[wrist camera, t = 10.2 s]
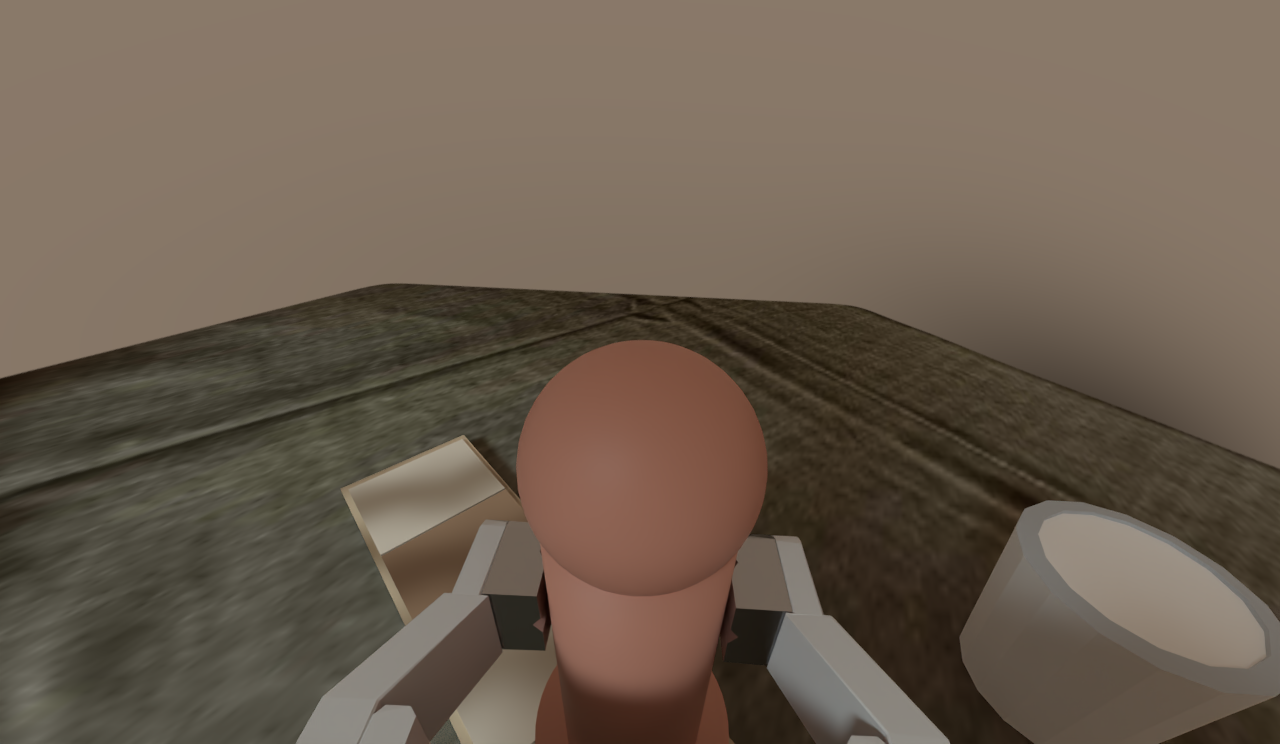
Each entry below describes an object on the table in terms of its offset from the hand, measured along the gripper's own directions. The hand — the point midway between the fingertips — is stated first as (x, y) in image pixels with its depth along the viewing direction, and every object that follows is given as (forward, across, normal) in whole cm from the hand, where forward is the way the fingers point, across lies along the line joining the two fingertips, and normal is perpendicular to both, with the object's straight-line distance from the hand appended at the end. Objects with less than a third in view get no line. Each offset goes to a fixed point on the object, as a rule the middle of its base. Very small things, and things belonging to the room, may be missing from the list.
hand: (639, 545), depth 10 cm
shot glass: (+4, -17, +12) cm, 21 cm away
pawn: (-1, 0, +7) cm, 7 cm away
